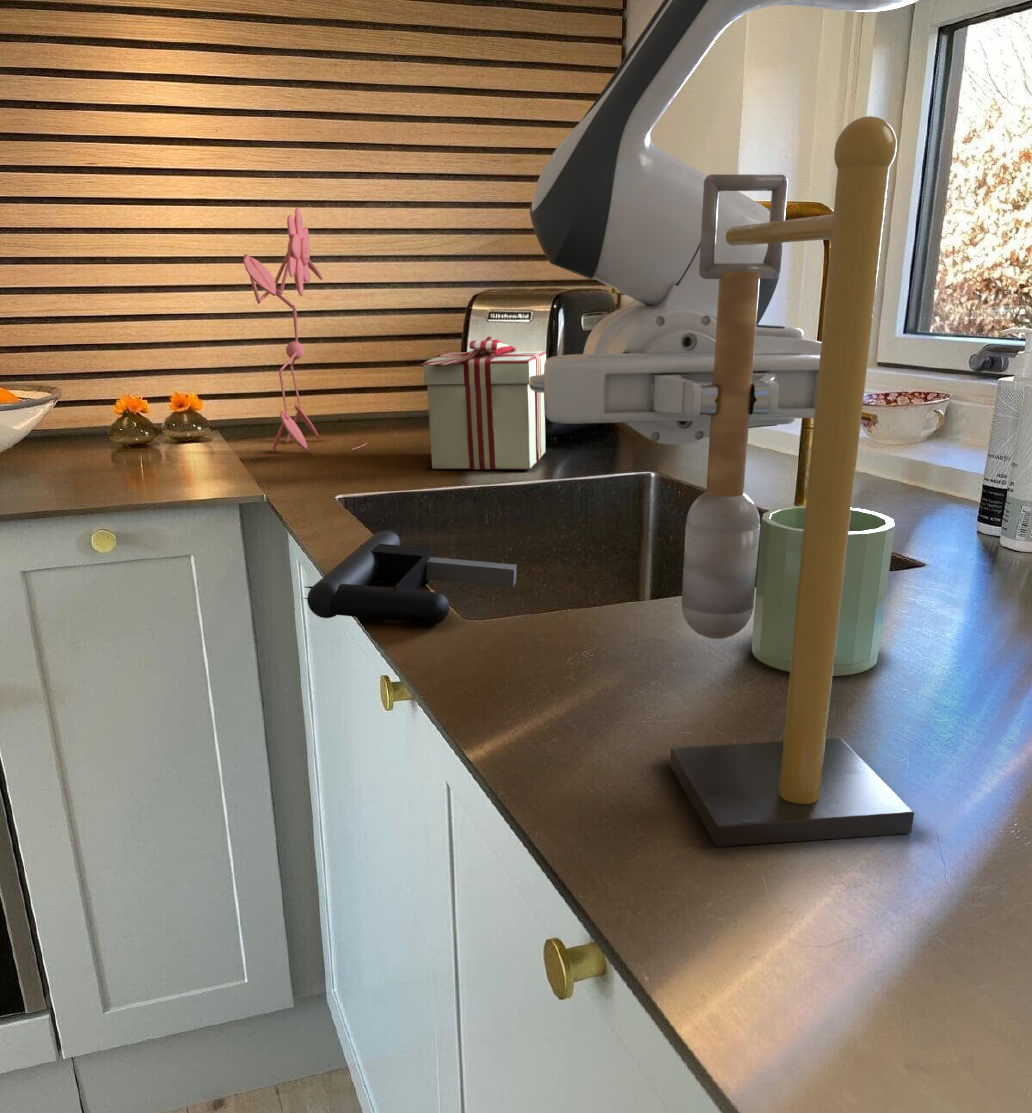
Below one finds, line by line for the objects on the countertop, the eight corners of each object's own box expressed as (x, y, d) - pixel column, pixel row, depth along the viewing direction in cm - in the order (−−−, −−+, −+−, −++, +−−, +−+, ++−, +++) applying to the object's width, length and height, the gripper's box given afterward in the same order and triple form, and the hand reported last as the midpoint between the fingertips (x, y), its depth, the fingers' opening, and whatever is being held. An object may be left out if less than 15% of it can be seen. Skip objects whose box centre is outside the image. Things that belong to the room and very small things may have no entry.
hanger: (778, 691, 69) (826, 157, 58) (911, 833, 52) (1021, 108, 40) (630, 699, 68) (649, 157, 56) (716, 847, 51) (769, 106, 39)
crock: (846, 632, 80) (861, 503, 77) (898, 673, 72) (917, 531, 69) (735, 637, 80) (745, 507, 76) (776, 679, 71) (788, 536, 68)
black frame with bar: (526, 540, 98) (361, 525, 100) (489, 603, 80) (288, 584, 82) (524, 574, 100) (362, 559, 102) (487, 643, 81) (289, 623, 83)
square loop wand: (739, 624, 68) (773, 177, 58) (762, 647, 64) (803, 171, 54) (670, 627, 67) (693, 177, 58) (688, 650, 63) (716, 170, 54)
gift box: (427, 452, 161) (423, 335, 155) (547, 453, 160) (547, 334, 153) (406, 472, 145) (400, 343, 139) (538, 473, 144) (538, 342, 137)
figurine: (251, 461, 156) (225, 203, 143) (292, 435, 180) (273, 212, 167) (353, 460, 155) (336, 201, 142) (381, 434, 179) (368, 211, 166)
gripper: (524, 331, 70) (556, 345, 57) (818, 326, 72) (912, 339, 59) (524, 427, 72) (555, 461, 59) (809, 420, 74) (897, 451, 62)
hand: (736, 400), depth 59 cm, fingers closed on square loop wand, 2 cm apart
